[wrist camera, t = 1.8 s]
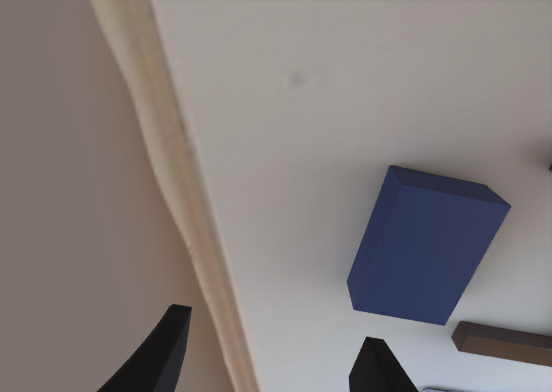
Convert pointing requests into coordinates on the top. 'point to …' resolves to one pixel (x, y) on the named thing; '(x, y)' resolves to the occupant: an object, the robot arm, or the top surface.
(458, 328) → the bay
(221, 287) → the top surface
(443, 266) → the tea packet
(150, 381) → the robot arm
